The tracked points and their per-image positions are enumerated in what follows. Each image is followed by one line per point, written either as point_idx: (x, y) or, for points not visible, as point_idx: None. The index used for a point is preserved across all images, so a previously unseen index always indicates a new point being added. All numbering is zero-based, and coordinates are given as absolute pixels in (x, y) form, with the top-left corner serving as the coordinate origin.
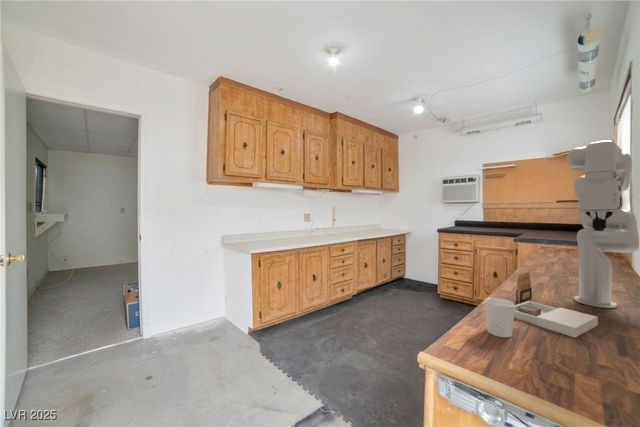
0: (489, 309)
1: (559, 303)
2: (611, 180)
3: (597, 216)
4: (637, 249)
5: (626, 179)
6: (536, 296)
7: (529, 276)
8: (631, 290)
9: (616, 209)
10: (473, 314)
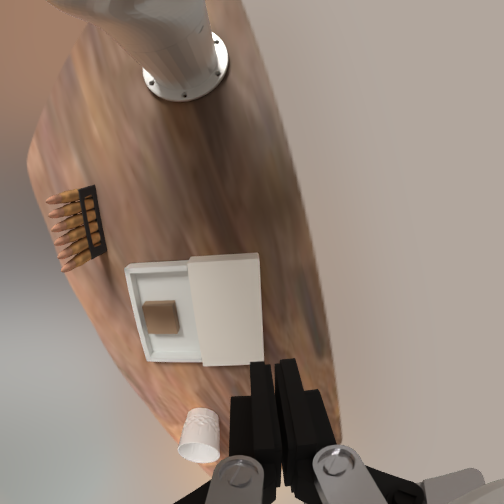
0: (198, 454)
1: (141, 153)
2: None
3: (262, 493)
4: None
5: None
6: (89, 148)
7: (57, 201)
8: None
9: None
10: (134, 389)
